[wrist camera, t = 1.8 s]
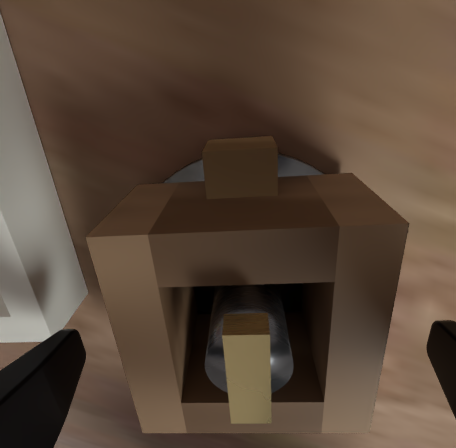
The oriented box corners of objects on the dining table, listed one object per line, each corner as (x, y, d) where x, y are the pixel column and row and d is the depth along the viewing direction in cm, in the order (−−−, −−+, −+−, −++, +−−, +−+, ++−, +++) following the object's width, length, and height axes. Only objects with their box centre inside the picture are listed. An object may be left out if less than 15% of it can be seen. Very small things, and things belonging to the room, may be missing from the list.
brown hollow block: (335, 338, 12) (369, 433, 9) (168, 341, 12) (142, 433, 9) (356, 130, 9) (421, 161, 5) (129, 144, 9) (68, 180, 6)
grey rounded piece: (352, 347, 12) (414, 497, 8) (154, 350, 13) (107, 493, 8) (379, 141, 9) (510, 203, 5) (110, 157, 10) (-5, 227, 5)
